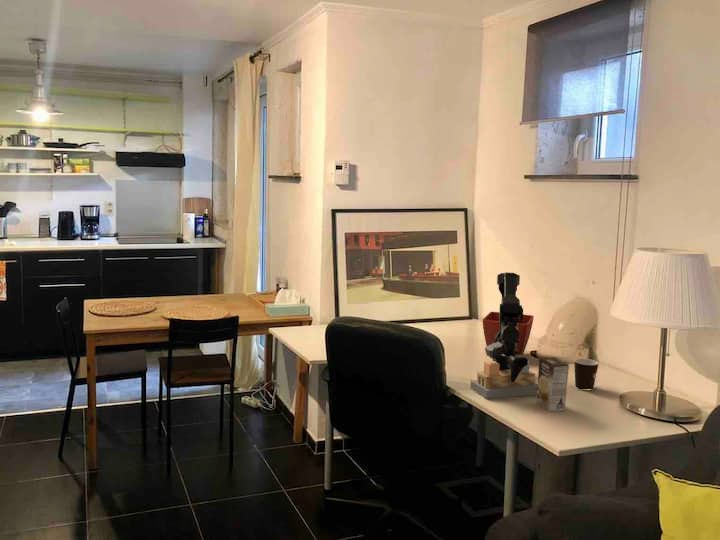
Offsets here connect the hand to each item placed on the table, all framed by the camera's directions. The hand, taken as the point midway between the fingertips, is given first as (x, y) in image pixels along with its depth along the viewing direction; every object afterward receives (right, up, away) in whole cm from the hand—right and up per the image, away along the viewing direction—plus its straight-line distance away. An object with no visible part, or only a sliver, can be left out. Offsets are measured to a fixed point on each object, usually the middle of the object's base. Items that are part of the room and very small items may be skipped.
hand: (506, 378), depth 247 cm
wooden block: (0, -2, 0) cm, 2 cm away
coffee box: (+12, -8, -14) cm, 20 cm away
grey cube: (+6, +2, +2) cm, 6 cm away
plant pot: (+11, +2, +50) cm, 51 cm away
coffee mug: (+32, -5, +8) cm, 34 cm away
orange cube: (-6, +2, -2) cm, 7 cm away
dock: (0, -5, +1) cm, 5 cm away
